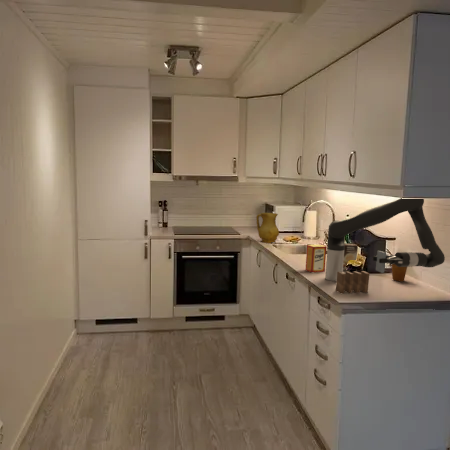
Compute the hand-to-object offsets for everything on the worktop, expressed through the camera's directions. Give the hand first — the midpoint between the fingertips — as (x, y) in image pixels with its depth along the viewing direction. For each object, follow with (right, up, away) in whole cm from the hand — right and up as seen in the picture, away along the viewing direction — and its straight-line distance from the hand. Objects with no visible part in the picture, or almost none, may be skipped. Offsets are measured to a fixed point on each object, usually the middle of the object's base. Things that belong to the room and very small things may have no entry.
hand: (376, 259), depth 213 cm
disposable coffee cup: (+25, -15, +35) cm, 46 cm away
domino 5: (+2, -6, +1) cm, 7 cm away
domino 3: (-8, -17, +7) cm, 20 cm away
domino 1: (-17, -17, +5) cm, 24 cm away
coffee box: (+2, -11, +58) cm, 59 cm away
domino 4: (-4, -17, +8) cm, 19 cm away
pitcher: (-39, +3, +153) cm, 158 cm away
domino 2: (-12, -17, +6) cm, 22 cm away
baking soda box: (-20, -11, +50) cm, 55 cm away
